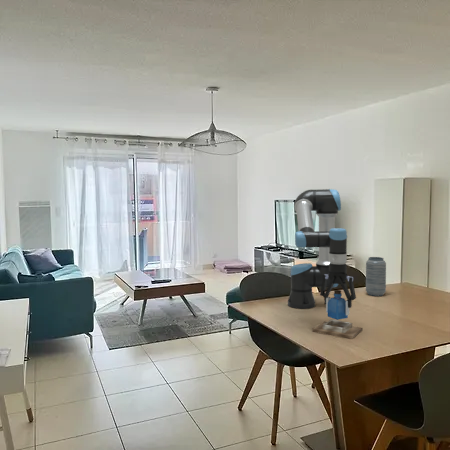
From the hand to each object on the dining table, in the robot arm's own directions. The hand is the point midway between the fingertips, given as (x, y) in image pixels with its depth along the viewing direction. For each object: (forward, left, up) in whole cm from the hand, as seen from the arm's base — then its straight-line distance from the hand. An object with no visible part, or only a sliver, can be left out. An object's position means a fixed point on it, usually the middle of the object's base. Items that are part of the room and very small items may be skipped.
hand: (337, 313), depth 186 cm
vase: (-6, +82, -8) cm, 83 cm away
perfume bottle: (0, 0, -2) cm, 2 cm away
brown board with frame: (0, 0, -8) cm, 8 cm away
